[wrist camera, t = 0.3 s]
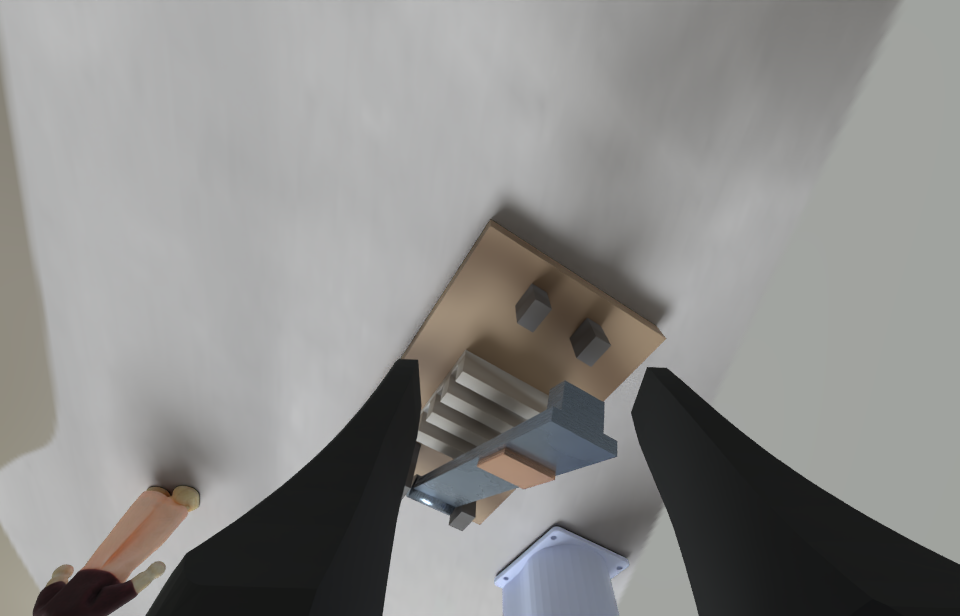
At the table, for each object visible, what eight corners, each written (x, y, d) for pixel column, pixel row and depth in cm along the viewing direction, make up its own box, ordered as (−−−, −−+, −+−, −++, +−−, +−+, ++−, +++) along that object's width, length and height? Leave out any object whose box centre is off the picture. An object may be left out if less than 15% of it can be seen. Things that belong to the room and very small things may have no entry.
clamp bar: (456, 477, 26) (444, 516, 25) (418, 460, 26) (404, 498, 24) (617, 406, 15) (616, 467, 14) (557, 372, 15) (549, 431, 13)
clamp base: (480, 507, 31) (478, 572, 26) (344, 445, 28) (316, 505, 24) (656, 326, 23) (695, 375, 19) (490, 219, 21) (488, 245, 16)
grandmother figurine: (195, 473, 30) (13, 684, 19) (221, 505, 32) (68, 717, 21) (116, 488, 31) (-100, 695, 20) (145, 518, 33) (-40, 725, 22)
